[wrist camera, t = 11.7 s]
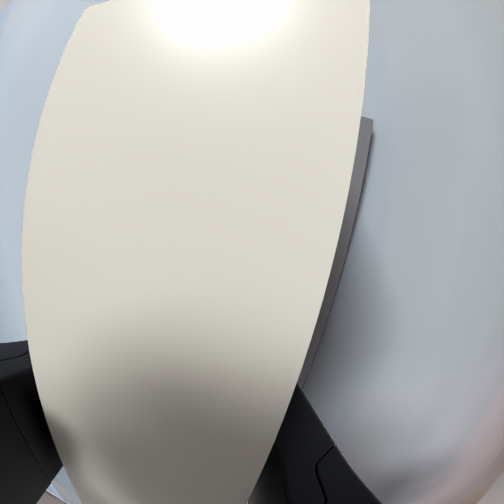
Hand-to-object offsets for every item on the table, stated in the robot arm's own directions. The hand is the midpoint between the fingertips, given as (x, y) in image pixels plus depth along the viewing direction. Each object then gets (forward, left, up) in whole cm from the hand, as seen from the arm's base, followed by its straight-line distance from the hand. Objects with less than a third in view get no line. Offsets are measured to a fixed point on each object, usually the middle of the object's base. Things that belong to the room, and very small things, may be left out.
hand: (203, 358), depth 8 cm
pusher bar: (0, 0, -2) cm, 2 cm away
